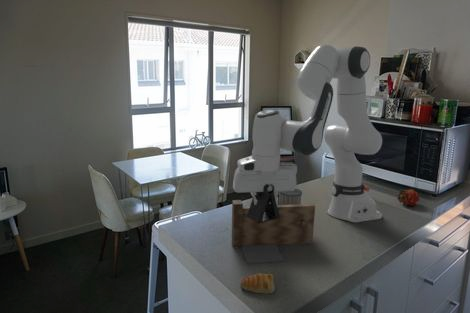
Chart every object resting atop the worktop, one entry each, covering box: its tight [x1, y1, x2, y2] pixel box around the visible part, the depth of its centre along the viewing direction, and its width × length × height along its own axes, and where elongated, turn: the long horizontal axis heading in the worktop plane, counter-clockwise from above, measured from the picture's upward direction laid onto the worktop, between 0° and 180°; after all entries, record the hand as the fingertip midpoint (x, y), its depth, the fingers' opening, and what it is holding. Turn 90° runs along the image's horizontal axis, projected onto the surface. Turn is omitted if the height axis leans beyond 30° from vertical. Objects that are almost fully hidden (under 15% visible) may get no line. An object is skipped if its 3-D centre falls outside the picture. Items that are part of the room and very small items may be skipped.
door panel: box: [231, 199, 316, 249], centre depth 119 cm, size 29×5×16 cm, turn 99°
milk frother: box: [276, 188, 303, 205], centre depth 132 cm, size 14×16×15 cm
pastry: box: [240, 273, 275, 294], centre depth 95 cm, size 9×7×4 cm
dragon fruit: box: [397, 188, 420, 207], centre depth 161 cm, size 8×8×12 cm
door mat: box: [241, 244, 285, 264], centre depth 114 cm, size 12×11×1 cm
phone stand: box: [247, 184, 280, 224], centre depth 109 cm, size 9×6×12 cm, turn 121°
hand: (264, 204), depth 110 cm, fingers closed on phone stand, 4 cm apart
